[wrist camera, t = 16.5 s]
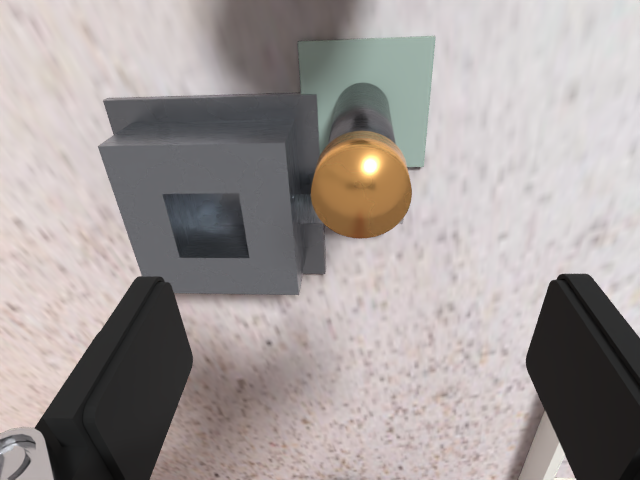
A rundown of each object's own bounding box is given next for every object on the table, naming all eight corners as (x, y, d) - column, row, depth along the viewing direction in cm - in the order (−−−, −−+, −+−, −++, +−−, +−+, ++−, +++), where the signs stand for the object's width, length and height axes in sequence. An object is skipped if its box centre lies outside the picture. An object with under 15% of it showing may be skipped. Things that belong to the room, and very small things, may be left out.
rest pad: (306, 165, 30) (306, 168, 29) (298, 41, 25) (297, 42, 25) (422, 164, 29) (423, 166, 29) (434, 36, 25) (435, 36, 24)
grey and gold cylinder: (329, 78, 26) (308, 148, 16) (395, 76, 26) (415, 147, 16) (331, 141, 28) (313, 237, 18) (392, 140, 28) (408, 238, 18)
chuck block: (160, 268, 36) (133, 308, 32) (107, 98, 28) (63, 121, 24) (394, 269, 34) (399, 312, 30) (405, 89, 27) (413, 113, 22)
